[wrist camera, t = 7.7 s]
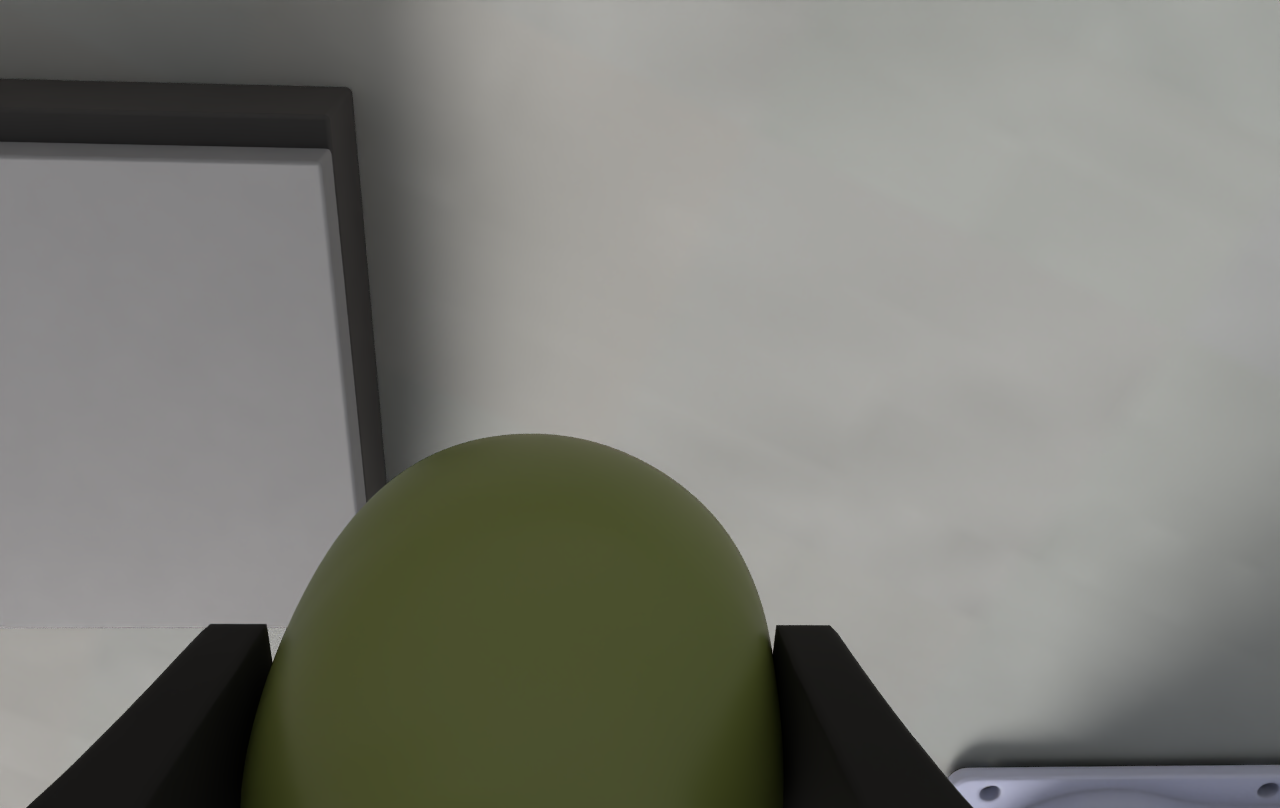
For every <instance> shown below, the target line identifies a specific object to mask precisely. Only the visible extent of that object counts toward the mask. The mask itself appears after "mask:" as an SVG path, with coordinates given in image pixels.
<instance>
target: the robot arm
mask: <svg viewBox="0 0 1280 808" xmlns="http://www.w3.org/2000/svg"><path fill="white" fill-rule="evenodd" d="M773 660H774V667H775V675H776V683H777V691H778V699H779V707H780V716H781V727H782V742H783V769H784V791H783V808H1280V765H1203V766H1095V767H988V768H963V769H959V770H957V771H955V772H954V773H952V774H951V775H950V776H949V777H948V778H947V777H946V776H945V775H944V774H943V772H942V771H941V770H940V769H939V768H938V766H937V765H936V764H935V763H934V761H933V760H932V759H931V758H930V756H929V755H928V754H927V753H926V752H925V750H924V749H923V748H922V747H921V745H920V744H919V743H918V742H917V741H916V739H915V738H914V737H913V736H912V734H911V733H910V732H909V731H908V729H907V728H906V727H905V726H904V724H903V723H902V722H901V720H900V719H899V718H898V716H897V715H896V714H895V713H894V711H893V710H892V709H891V707H890V706H889V705H888V703H887V702H886V701H885V699H884V698H883V697H882V695H881V694H880V693H879V691H878V690H877V688H876V687H875V686H874V684H873V683H872V682H871V680H870V679H869V677H868V676H867V675H866V673H865V672H864V671H863V669H862V668H861V666H860V665H859V663H858V662H857V661H856V659H855V658H854V656H853V655H852V654H851V652H850V651H849V649H848V648H847V646H846V645H845V643H844V642H843V641H842V639H841V638H840V636H839V635H838V633H837V632H836V631H835V630H834V629H833V628H832V627H831V626H830V625H776V633H775V641H774V648H773ZM271 666H272V656H271V650H270V643H269V637H268V630H267V624H210V625H208V626H207V627H206V628H205V629H204V630H203V631H202V632H201V633H200V634H199V635H198V636H197V637H196V638H195V639H194V640H193V641H192V642H191V643H190V644H189V645H188V646H187V647H186V648H185V650H184V651H183V652H182V653H181V654H180V655H179V656H178V657H177V658H176V659H175V660H174V661H173V662H172V663H171V664H170V665H169V667H168V668H167V669H166V670H165V671H164V672H163V673H162V674H161V675H160V676H159V677H158V678H157V679H156V680H155V681H154V682H153V684H152V685H151V686H150V687H149V688H148V689H147V690H146V691H145V692H144V693H143V694H142V695H141V696H140V697H139V698H138V699H137V700H136V701H135V702H134V703H133V704H132V706H131V707H130V708H129V709H128V710H127V711H126V712H125V713H124V714H123V715H122V716H121V717H120V718H119V719H118V720H117V721H116V722H115V723H114V724H113V725H112V726H111V727H110V728H109V729H108V730H107V731H106V732H105V733H104V734H103V735H102V736H101V737H100V738H99V739H98V740H97V741H96V742H95V743H94V744H93V745H92V746H91V747H90V748H89V749H88V750H87V751H86V752H85V753H84V754H83V755H82V756H81V757H80V758H79V759H78V760H77V761H76V762H75V763H74V764H73V765H72V766H71V767H70V768H69V769H68V770H67V771H66V772H64V773H63V774H62V775H61V776H60V777H59V778H58V779H57V780H56V781H55V782H54V783H53V784H52V785H51V786H49V787H48V788H47V789H46V790H45V791H44V792H43V793H42V794H41V795H40V796H38V797H37V798H36V799H35V800H34V801H33V802H32V803H31V804H30V805H29V806H28V807H26V808H240V802H241V788H242V779H243V771H244V765H245V759H246V753H247V748H248V744H249V739H250V735H251V731H252V727H253V723H254V719H255V715H256V712H257V708H258V705H259V701H260V698H261V695H262V692H263V689H264V686H265V683H266V680H267V677H268V674H269V671H270V668H271ZM987 786H990V787H988V788H985V787H987Z"/></svg>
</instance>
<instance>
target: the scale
mask: <svg viewBox="0 0 1280 808" xmlns="http://www.w3.org/2000/svg"><path fill="white" fill-rule="evenodd" d="M386 484H387V483H386V472H385V460H384V449H383V438H382V426H381V415H380V404H379V392H378V381H377V370H376V359H375V347H374V336H373V325H372V313H371V302H370V291H369V279H368V268H367V257H366V245H365V234H364V223H363V211H362V200H361V189H360V177H359V166H358V155H357V143H356V132H355V121H354V109H353V98H352V91H351V89H350V88H347V87H310V86H269V85H228V84H186V83H145V82H104V81H62V80H21V79H0V628H206V627H207V626H208V625H210V624H267V628H287V627H288V624H289V622H290V620H291V618H292V616H293V613H294V611H295V609H296V607H297V605H298V603H299V601H300V599H301V597H302V595H303V593H304V591H305V590H306V588H307V586H308V584H309V582H310V580H311V578H312V577H313V575H314V573H315V571H316V570H317V568H318V566H319V565H320V563H321V561H322V560H323V558H324V557H325V555H326V553H327V552H328V550H329V549H330V547H331V546H332V545H333V543H334V542H335V540H336V539H337V537H338V536H339V535H340V533H341V532H342V531H343V529H344V528H345V527H346V526H347V524H348V523H349V522H350V521H351V519H352V518H353V517H354V516H355V515H356V514H357V512H358V511H359V510H360V509H361V508H362V507H363V506H364V505H365V504H366V503H367V502H368V501H369V500H370V499H371V498H372V497H373V496H374V495H375V494H376V493H377V492H378V491H379V490H380V489H381V488H383V487H384V486H385V485H386Z"/></svg>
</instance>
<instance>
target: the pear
mask: <svg viewBox="0 0 1280 808" xmlns="http://www.w3.org/2000/svg"><path fill="white" fill-rule="evenodd" d="M783 791H784V769H783V742H782V727H781V716H780V707H779V699H778V691H777V683H776V675H775V667H774V660H773V654H772V648H771V642H770V637H769V632H768V627H767V623H766V619H765V615H764V611H763V607H762V604H761V601H760V598H759V595H758V592H757V589H756V586H755V584H754V581H753V579H752V577H751V574H750V572H749V570H748V568H747V566H746V563H745V561H744V559H743V558H742V556H741V554H740V552H739V550H738V549H737V547H736V545H735V544H734V542H733V541H732V539H731V538H730V536H729V535H728V533H727V532H726V530H725V529H724V528H723V526H722V525H721V524H720V523H719V521H718V520H717V519H716V518H715V517H714V516H713V514H712V513H711V512H710V511H709V510H708V509H707V508H706V507H705V506H704V505H703V504H702V503H701V502H700V501H699V500H698V499H697V498H696V497H695V496H693V495H692V494H691V493H690V492H689V491H688V490H686V489H685V488H684V487H683V486H681V485H680V484H679V483H677V482H676V481H675V480H673V479H672V478H670V477H669V476H667V475H666V474H664V473H663V472H661V471H659V470H658V469H656V468H654V467H653V466H651V465H649V464H647V463H645V462H644V461H642V460H640V459H638V458H636V457H633V456H631V455H629V454H627V453H624V452H622V451H619V450H617V449H614V448H611V447H609V446H606V445H602V444H599V443H596V442H592V441H588V440H584V439H579V438H573V437H567V436H560V435H549V434H511V435H501V436H493V437H487V438H482V439H477V440H473V441H469V442H465V443H462V444H458V445H455V446H452V447H450V448H447V449H444V450H442V451H440V452H437V453H435V454H433V455H431V456H429V457H427V458H425V459H423V460H421V461H419V462H418V463H416V464H414V465H413V466H411V467H409V468H408V469H406V470H405V471H403V472H402V473H400V474H399V475H398V476H396V477H395V478H394V479H392V480H391V481H390V482H389V483H387V484H386V485H385V486H384V487H383V488H381V489H380V490H379V491H378V492H377V493H376V494H375V495H374V496H373V497H372V498H371V499H370V500H369V501H368V502H367V503H366V504H365V505H364V506H363V507H362V508H361V509H360V510H359V511H358V512H357V514H356V515H355V516H354V517H353V518H352V519H351V521H350V522H349V523H348V524H347V526H346V527H345V528H344V529H343V531H342V532H341V533H340V535H339V536H338V537H337V539H336V540H335V542H334V543H333V545H332V546H331V547H330V549H329V550H328V552H327V553H326V555H325V557H324V558H323V560H322V561H321V563H320V565H319V566H318V568H317V570H316V571H315V573H314V575H313V577H312V578H311V580H310V582H309V584H308V586H307V588H306V590H305V591H304V593H303V595H302V597H301V599H300V601H299V603H298V605H297V607H296V609H295V611H294V613H293V616H292V618H291V620H290V622H289V624H288V627H287V629H286V631H285V633H284V636H283V638H282V640H281V643H280V645H279V648H278V650H277V653H276V655H275V658H274V660H273V663H272V666H271V668H270V671H269V674H268V677H267V680H266V683H265V686H264V689H263V692H262V695H261V698H260V701H259V705H258V708H257V712H256V715H255V719H254V723H253V727H252V731H251V735H250V739H249V744H248V748H247V753H246V759H245V765H244V771H243V779H242V788H241V802H240V808H783Z"/></svg>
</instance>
